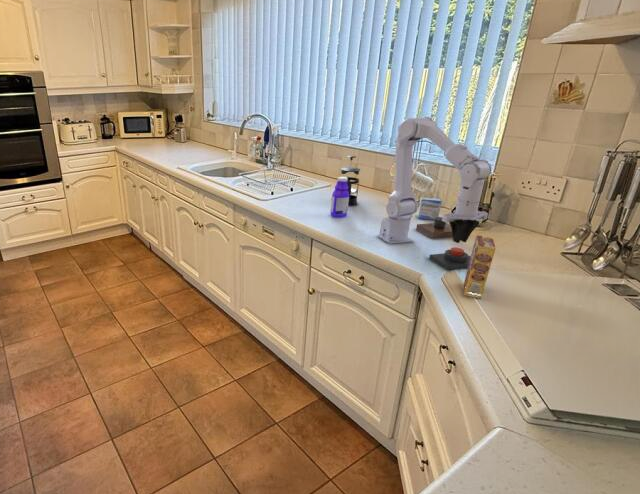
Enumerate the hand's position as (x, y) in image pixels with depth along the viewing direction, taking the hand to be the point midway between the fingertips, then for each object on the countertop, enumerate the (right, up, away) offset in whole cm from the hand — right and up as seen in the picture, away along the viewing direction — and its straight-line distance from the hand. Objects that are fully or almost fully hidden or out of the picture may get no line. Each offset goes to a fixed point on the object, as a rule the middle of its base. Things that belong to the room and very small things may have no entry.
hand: (459, 241), depth 125 cm
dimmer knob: (+8, +5, +27) cm, 29 cm away
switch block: (0, -7, +3) cm, 8 cm away
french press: (-15, +18, +67) cm, 71 cm away
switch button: (0, -4, +2) cm, 5 cm away
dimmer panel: (+8, +3, +28) cm, 29 cm away
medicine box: (+13, +10, +45) cm, 48 cm away
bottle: (-24, +11, +49) cm, 56 cm away
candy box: (-5, -14, -14) cm, 20 cm away
